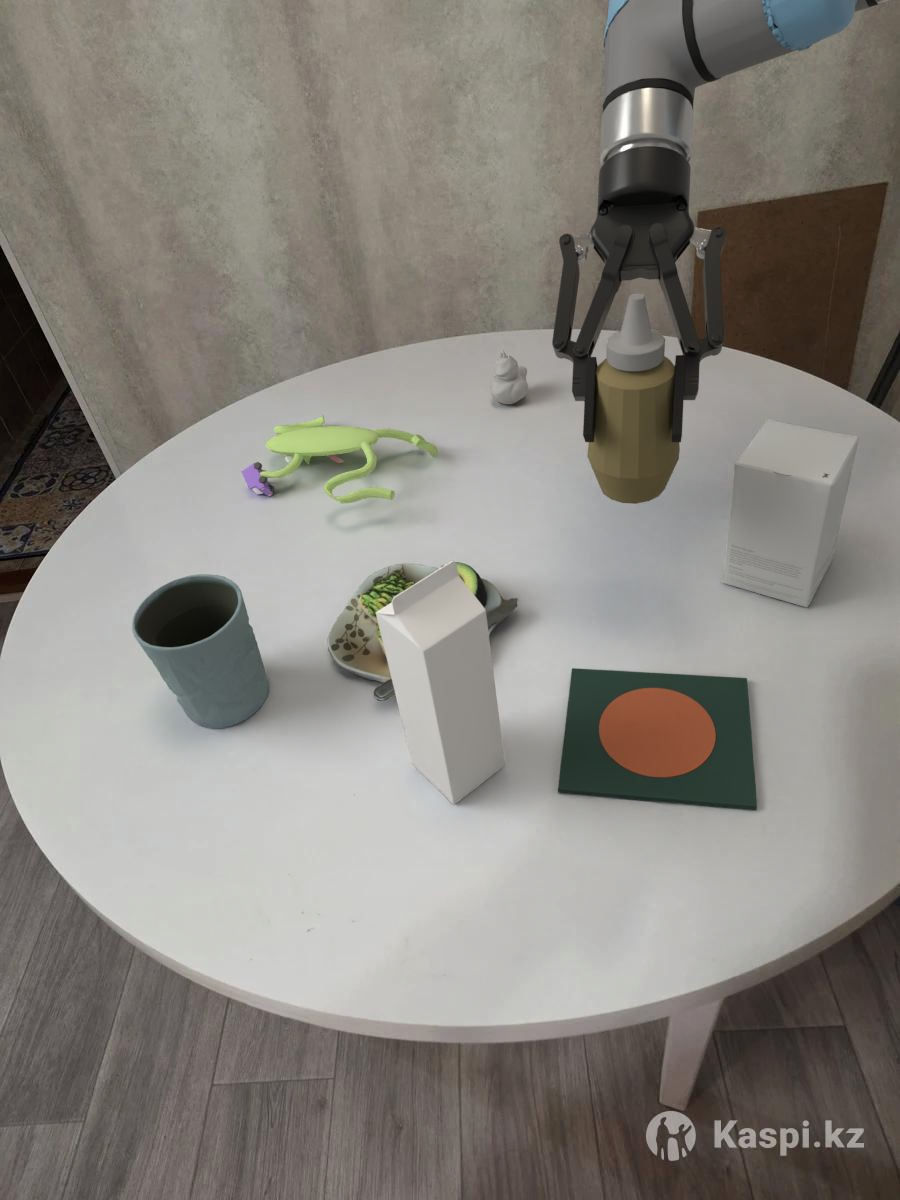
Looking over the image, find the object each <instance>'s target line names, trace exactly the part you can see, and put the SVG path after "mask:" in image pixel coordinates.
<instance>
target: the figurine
mask: <svg viewBox="0 0 900 1200" xmlns="http://www.w3.org/2000/svg"><path fill="white" fill-rule="evenodd" d="M325 422H326V421H325V416H324V414H321V416H320V417H318V418H315V419H312V420H308V421H305V422H304V421H303V422H297V423H291V424H284V425H283V424H281V425H277V426H275V427H274V428H273V432H274V434H275V436H273V437H271V438H269V439H268V440H267V441H266V442H265V448H266V449H267V450H269V451H270V452H271V453H275V454H279V455H283V456H284V461H285V462H286V464H287V465H286V466H284V467H282V468H281V469H279V470H266V469H263V464H262V463H261V462H259V461H256V462H254V463H252V464H251V465H250V464H249V466H247V467H246V468H244V469H242V470H241V471H240V472H241V474H242V476H243V479H244V480H245V483H246V484H247V487H248V489H249V490H250V491H252V492H253V493H254V494H255V495H256V496H257V495H258V496H259V495H265V496H267V497H268V498H269V497H270V496H273V495H274V492H275V490H276V488H275V486H274V485H272V484H270V483H269V479H283V478H286V477H288V476H290V475H292V474H293V473H295V472H296V471H297V469H298V468H299V467H300V465H302V462H303V460H304V461H305V463H306V464H307V465H309V464H310V461H311V458H312V457H323V456H324V457H326V458H329V459H331V460H332V461H334V462H335V463H338V464H343V463H344V460H343V459H342V458H340V457H338V456H337V455H341V454H347V453H352V452H357V451H360V450H362V451H363V454H364V455H365V457H366V464H365V465H363V466H362V467H361V468H358V469H354V470H353V469H352V470H349V471H346V472H342V473H339V474H337V475H335V476H333V477H331V478H330V479H328V481H325V483H324V485H323V491H324V492H325V494H326V495H327V496H328V497H329V498H331V499H333V500H335V501H337V502H338V503H340V504H350V503H356V502H359V501H362V500H366V499H370V498H371V499H372V498H379V499H386V500H390V501H392V500H394V499H395V495H396V492H395V490H393V489H388V488H383V487H366V488H362V489H358V490H356V491H353V492H351V493H347V494H345V495H344V494H343V495H339V496H335V495H334V494H333V490H334V489H335V488H337V487H338V486H341V485H343V484H345V483H347V482H350V481H355V480H358V479H361V478H364V477H367V476H368V475H369V474H371V473H372V472H373V471H374V470H375V469H376V468H377V461H378V460H377V456H376V453H375V451H374V449H373V447H372V446H373V445H375V444H377V442H378V441H379V439H383V438H384V439H385V438H387V439H388V438H389V439H395V440H401V441H404V442H406V443H407V442H408V443H409V444H412V445H413V446H414V447H416V448H419V449H422V450H425V451H426V452H429V454H430V455H431V456H432V457H436V456H437V455H438V454H439V452H440V451H439V449H438V446H436V445H435V444H433V443H431V442H429V441H427V440H426V439H425V438H424V437H423V436H422V435H420V434H413V433H410V432H407V431H404V430H403V431H402V430H399V429H393V428H378V429H373V430H372V429H369V428H365V427H359V426H345V425H337V426H336V425H334V426H330V425H329V426H323V425H324V424H325Z"/></svg>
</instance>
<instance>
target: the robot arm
mask: <svg viewBox="0 0 900 1200" xmlns="http://www.w3.org/2000/svg"><path fill="white" fill-rule="evenodd" d="M891 1H893V0H609V1H608V9H607V20H606V26H605V30H604V34H603V49H604V71H603V72H604V74H603V75H604V76H603V104H602V115H601V122H600V143H599V144H600V147H599V149H600V150H599V164H600V169H599V171H598V185H597V186H598V187H597V188H598V190H597V207H596V208H597V209H596V213H597V214H596V218H595V221H594V223H593V225H592V227H591V228H590V231H589V232H586V233H582V234H579V235H576V236H573V235H572V234H571V233H564V234H562V235H561V236H560V237H559V240H558V243H559V248H560V252H561V258H562V261H563V264H562V269H561V277H560V282H559V283H560V284H559V289H558V290H559V291H558V297H557V305H556V312H555V319H554V327H553V332H552V333H553V334H552V340H551V345H552V349H553V351H554V354H555V357H557V358H559V359H561V360H562V359H564V360H565V359H566V360H567V361H570V362H571V363H572V378H571V379H572V381H571V392H572V396H573V399H574V401H575V402H584V405H583V406H584V407H583V425H582V427H583V428H582V437H583V439H584V442H585V443H589V442H594V437H595V379H596V369H597V366H598V365H599V364H598V361H597V357H596V356H593V353H594V350H595V349H596V348H595V347H596V345H597V342H598V340H599V337H600V335H601V332H602V330H603V328H604V324H605V322H606V319H607V317H608V314H609V313H610V309H611V307H612V304H613V302H614V300H615V297H616V294H617V293H618V292H619V289H620V287H621V284H622V282H623V281H624V282H625V281H633V280H636V279H639V278H640V279H644V280H645V279H646V280H651V281H652V280H658V283H659V286H660V289H661V291H662V294H663V296H664V300H665V303H666V306H667V309H668V312H669V315H670V318H671V321H672V325H673V328H674V331H675V334H676V338H677V341H678V343H679V347H680V350H681V353H682V354H676V355H675V361H674V366H675V383H674V402H673V421H672V442H679V443H682V436H683V421H684V420H683V419H684V401H695V400H696V398H697V397H698V394H699V388H700V387H699V385H700V364H701V362H702V360H704V359H705V358H708V357H711V356H713V357H715V356H718V355H719V354H721V351H722V350H723V345H724V342H725V331H724V330H725V329H724V312H723V293H722V274H721V272H722V271H721V258H722V254H723V251H724V248H725V242H726V237H727V229H726V228H725V227H724V226H723V225H717V226H714V227H712V229H707V228H702V227H698V226H695V224H694V221H693V219H692V218H691V215H690V195H691V193H690V192H691V172H692V171H691V169H692V167H691V164H690V161H691V159H692V145H693V125H694V124H693V123H694V102H695V101H694V100H695V93H696V89H697V88H698V87H701V86H703V85H705V84H708V83H713V82H715V81H718V80H720V79H722V78H723V77H726V76H729V75H732V74H734V73H737V72H740V71H742V70H746V69H749V68H751V67H754V66H756V65H759V64H763V63H765V62H768V61H770V60H773V59H776V58H779V57H782V56H785V55H788V54H790V53H793V52H796V51H798V52H801V51H805V50H809V49H810V47H812V46H813V45H814V44H816V43H819V42H821V41H822V40H825V39H827V38H830V37H832V36H834V35H837V34H840V33H841V32H842V31H845V29H847V27H848V26H849V25H850V24H851V22H852V21H853V19H854V16H855V13H856V12H860V11H863V10H866V9H870V8H873V7H875V6H878V5H880V4H884V3H888V2H891ZM690 244H692V245H694V247H695V253H696V256H697V258H699V259H700V260H703V265H702V287H703V288H702V289H703V307H704V326H705V327H704V329H705V336H704V337H702V338H699V337H698V333H697V329H696V327H695V323H694V321H693V318H692V315H691V311H690V309H689V305H688V301H687V298H686V296H685V292H684V289H683V286H682V283H681V280H680V277H679V273H678V267H677V265H676V263H677V261H678V260H679V259H680V257H681V256H682V255H683V253H684V252H685V251H686V249H687V248H688V247H689V246H690ZM591 249H594V251H595V252H596V253H597V256H599V258H600V260H601V261H602V262H603V263H604V265H603V266H604V267H603V269H602V272H601V276H600V280H599V282H598V285H597V287H596V290H595V293H594V295H593V297H592V300H591V303H590V305H589V307H588V310H587V313H586V315H585V318H584V321H583V323H582V326H581V328H580V331H579V334H578V336H577V338H576V341H573V340H572V336H573V335H572V334H573V326H574V320H575V313H576V312H575V311H576V305H577V298H578V290H579V285H580V276H581V275H580V273H581V272H580V265H582V264H585V262H586V261H587V259H588V258H587V257H588V252H589V251H590V250H591Z"/></svg>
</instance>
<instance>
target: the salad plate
mask: <svg viewBox="0 0 900 1200" xmlns="http://www.w3.org/2000/svg"><path fill="white" fill-rule="evenodd" d="M455 562H456V563H457V570H458V575H459V577H460V578H461V579H462V580H463V582H464V583H465V584H466V585H467V587H468V588H469V589H470V590H471V592H472V593H473V594H474V595H475V597H476V598H477V599H478V601H479V602H480V603H481V604H482V606H483V607H484V608H485V610H486V617H487V625H488V633H489V636H490V634H491V633H492V632H493V630H494V629H495V628H496V627H497V626H498V625H499V624H500V623H501V622H503V621H505V619H506V618H507V617H509V616H510V615H511V614H513V612H514V611H515V610H516V609H518V606H519V605H518V597H510V598H508V599H505V598H504V597H503V595H501V593H500V591H499V589H498V588H497V587H496V585H494V584H493V583H492V582H491V581H489V580H487V579H486V578H482V577H481V576H480V575H479V573H478V572H477V571H476V570H475V569H474V568H473V567H472V566H471V565H469V564H466V563H464V562H460V561H455ZM448 563H449V562H447V563H446V564H448ZM446 564H443V565H441V566H440V568H441V567H443V566H445V565H446ZM438 569H439V567H433V566H427V565H424V564H417V563H397V564H392V565H388V566H387V567H383V568H382V569H379V570H378V571H374V572H373V573H371V574H370V575H369V576H367V577H366V578H365V579H364V580H363V581H362V582H361V584H360V585H359V587H358V588H357V589H356V591H355V592H354V594H353V595H352V597H351V598H350V599H349V601H348V603H347V604H346V606H345V607H344V609H343V610H342V612H341V613H340V614H339V616H338V617H337V618H336V620H335V622H334V623H333V625H332V627H331V629H330V630H329V632H328V633H327V639H326V641H327V652H329V655H330V658H331V659H332V661H333V663H334V664H335V665H336V666H337V667H339V668H341V669H343V670H345V671H347V672H349V673H352V674H354V675H356V676H358V677H360V678H363V679H366V680H371V681H375V682H380V683H381V684H380V685H378V686H376V687H375V688H374V689H373V691H372V692H373V693H372V694H373V697H374V699H375V700H377V701H378V702H385V701H388V700H390V699H392V698H393V697H396V695H395V690H394V686H393V682H392V678H391V674H390V670H389V666H388V662H387V657H386V653H385V649H384V645H383V641H382V637H381V633H380V629H379V625H378V620H377V616H376V612H377V611H379V610H380V609H382V608H383V607H385V606H387V605H388V604H390V603H391V602H392V599H393V598H394V597H395V596H396V595H398V594H399V593H401V592H403V591H404V590H406V589H407V588H409V587H411V586H412V585H414V584H416V583H417V582H419V581H420V580H422V579H424V578H425V577H427V576H428V575H430V574H432V573H433V572H435V571H436V570H438Z"/></svg>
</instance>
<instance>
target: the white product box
mask: <svg viewBox="0 0 900 1200" xmlns="http://www.w3.org/2000/svg"><path fill="white" fill-rule="evenodd" d="M859 440H860V437H859V436H856V435H850V434H846V433H840V432H835V431H831V430H825V429H819V428H814V427H809V426H805V425H800V424H799V425H798V424H794V423H789V422H784V421H779V420H774V419H770V418H767V419H766V420H765V422H764V423H763V424H762V426H761V428H760V429H759V430H758V431H757V434H756V435H755V436H754V437H753V438H752V440H751V442H750V443H748V445H747V447H746V448H745V449H744V451H743V452H742V453H741V455H740V456H739V457H738V459H737V460H736V461H735V463H734V468H733V481H732V490H731V499H730V508H729V517H728V528H727V538H726V547H725V554H724V564H723V573H722V583H723V584H724V585H729V586H732V587H735V588H737V589H743V590H745V591H749V592H752V593H756V594H759V595H762V596H766V597H769V598H773V599H777V600H780V601H783V602H786V603H790V604H794V605H797V606H799V607H804V608H808V607H809V606H810V604H811V602H812V600H813V598H814V596H815V594H816V592H817V591H818V588H819V587H820V584H821V583H822V581H823V579H824V577H825V575H826V574H827V571H828V569H829V567H830V566H831V564H832V562H833V559H834V554H835V550H836V545H837V541H838V537H839V532H840V527H841V523H842V518H843V513H844V509H845V504H846V500H847V494H848V490H849V485H850V480H851V477H852V472H853V467H854V462H855V458H856V454H857V449H858V445H859Z"/></svg>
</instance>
